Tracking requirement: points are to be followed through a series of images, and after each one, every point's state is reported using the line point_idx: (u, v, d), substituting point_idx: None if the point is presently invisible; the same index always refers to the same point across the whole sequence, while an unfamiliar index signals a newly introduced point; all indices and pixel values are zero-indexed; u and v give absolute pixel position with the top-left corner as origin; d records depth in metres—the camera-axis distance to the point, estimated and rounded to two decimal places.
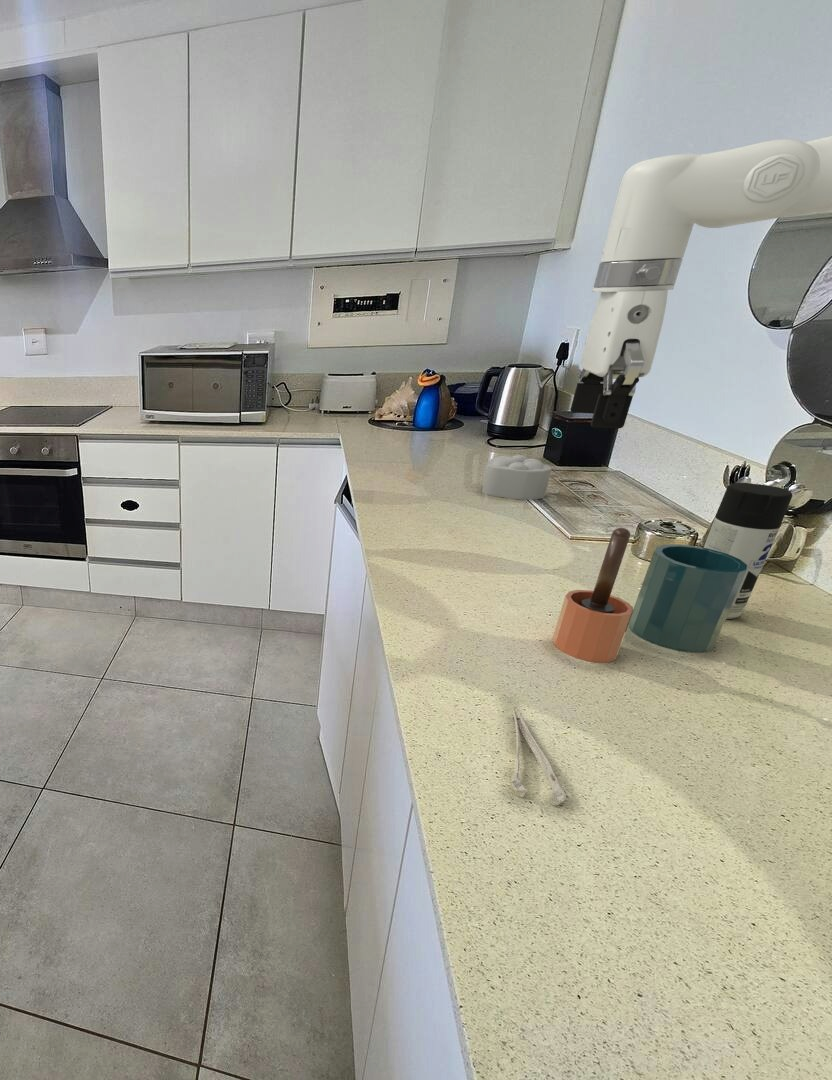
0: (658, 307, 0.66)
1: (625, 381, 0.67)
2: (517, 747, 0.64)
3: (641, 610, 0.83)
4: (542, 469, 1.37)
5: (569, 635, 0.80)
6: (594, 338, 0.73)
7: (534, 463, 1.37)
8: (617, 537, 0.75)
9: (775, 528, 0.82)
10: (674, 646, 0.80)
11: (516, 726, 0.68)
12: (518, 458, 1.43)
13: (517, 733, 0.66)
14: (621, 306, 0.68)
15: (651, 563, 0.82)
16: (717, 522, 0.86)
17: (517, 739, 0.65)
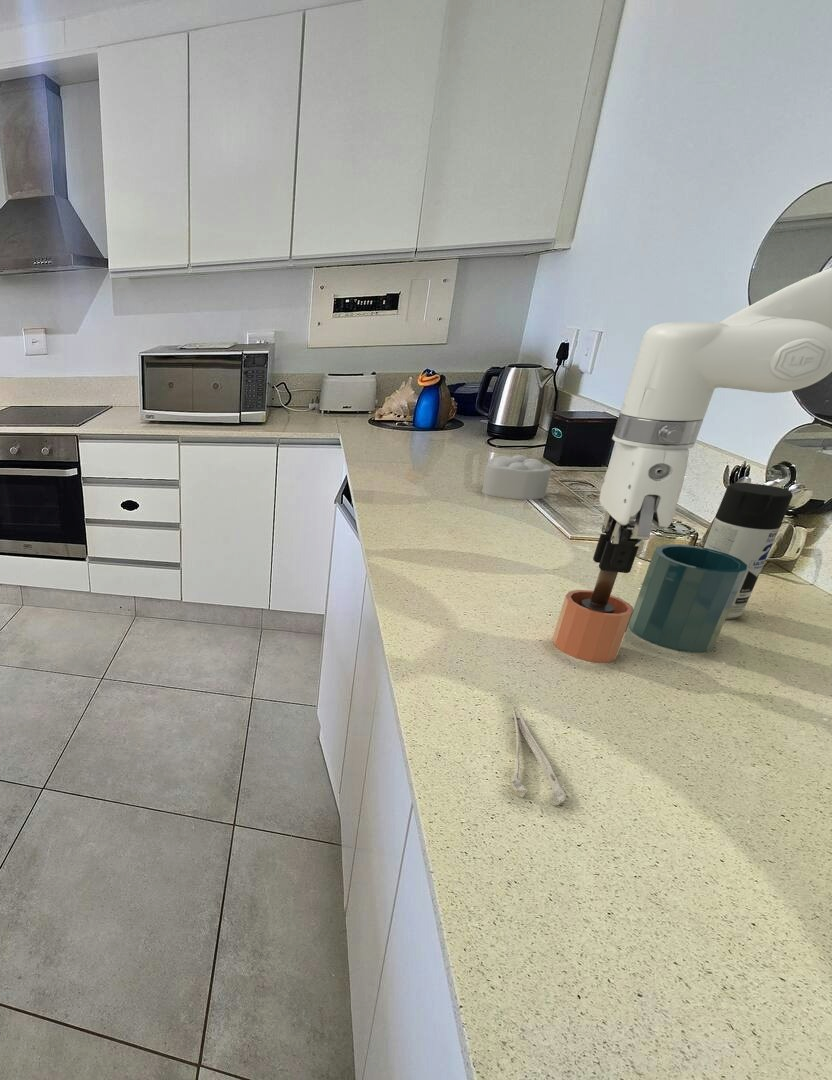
0: (679, 467, 0.67)
1: None
2: (517, 747, 0.64)
3: (641, 610, 0.83)
4: (542, 469, 1.37)
5: (569, 635, 0.80)
6: (614, 483, 0.73)
7: (534, 463, 1.37)
8: None
9: (775, 528, 0.82)
10: (674, 646, 0.80)
11: (516, 726, 0.68)
12: (518, 458, 1.43)
13: (517, 733, 0.66)
14: (642, 462, 0.68)
15: (651, 563, 0.82)
16: (717, 522, 0.86)
17: (517, 739, 0.65)
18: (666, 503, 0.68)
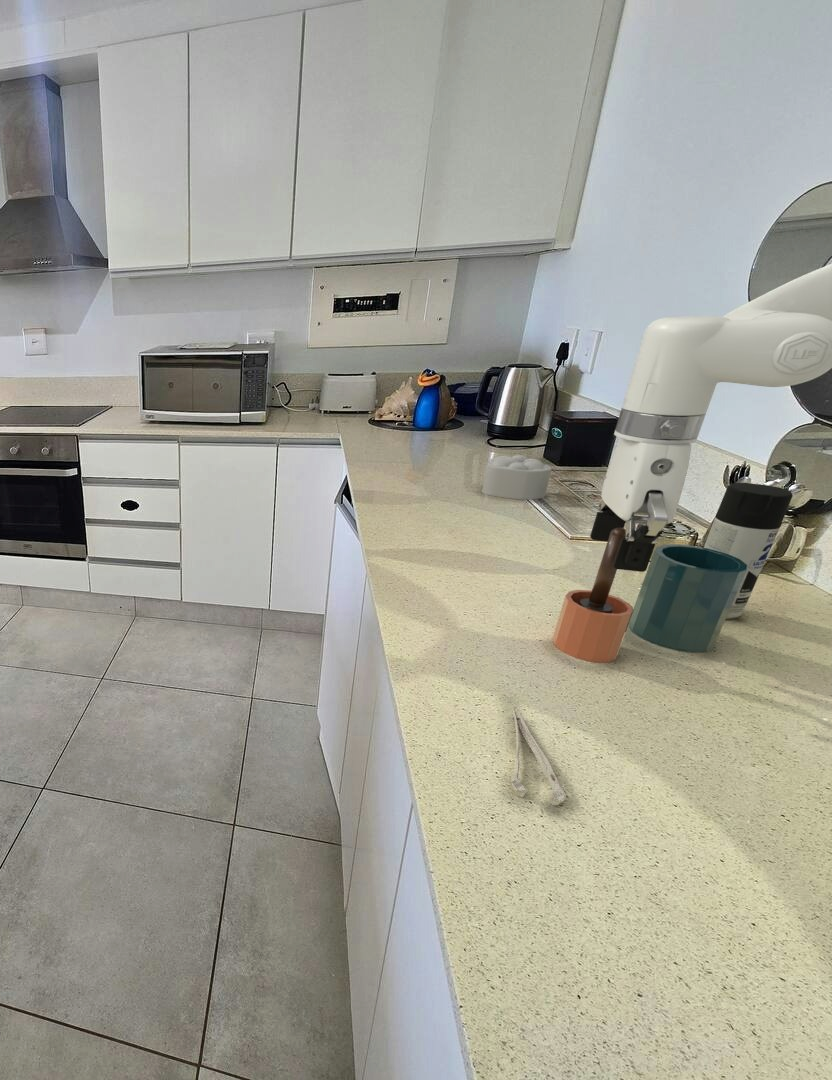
0: (682, 462, 0.66)
1: (648, 533, 0.68)
2: (517, 747, 0.64)
3: (641, 610, 0.83)
4: (542, 469, 1.37)
5: (569, 635, 0.80)
6: (616, 479, 0.73)
7: (534, 463, 1.37)
8: (615, 536, 0.75)
9: (775, 528, 0.82)
10: (674, 646, 0.80)
11: (516, 726, 0.68)
12: (518, 458, 1.43)
13: (517, 733, 0.66)
14: (644, 457, 0.68)
15: (651, 563, 0.82)
16: (717, 522, 0.86)
17: (517, 739, 0.65)
18: (668, 498, 0.68)
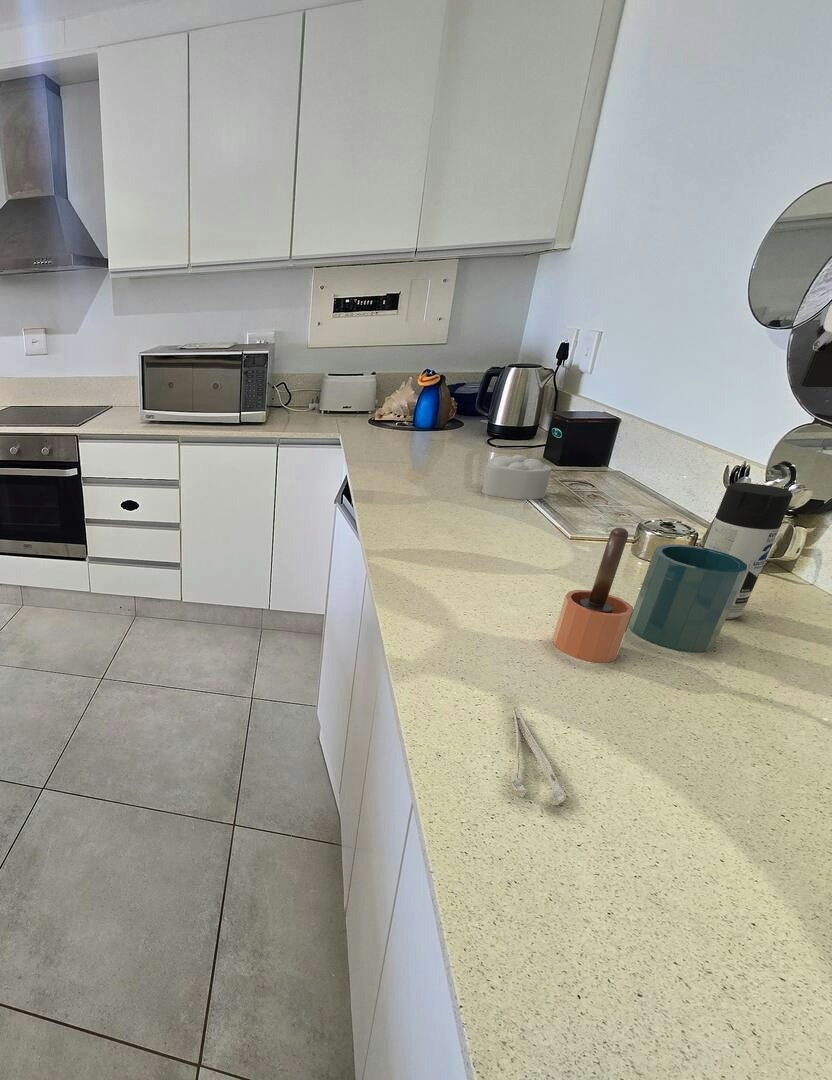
0: None
1: None
2: (517, 747, 0.64)
3: (641, 610, 0.83)
4: (542, 469, 1.37)
5: (569, 635, 0.80)
6: None
7: (534, 463, 1.37)
8: (615, 536, 0.75)
9: (775, 528, 0.82)
10: (674, 646, 0.80)
11: (516, 726, 0.68)
12: (518, 458, 1.43)
13: (517, 733, 0.66)
14: None
15: (651, 563, 0.82)
16: (717, 522, 0.86)
17: (517, 739, 0.65)
18: None
